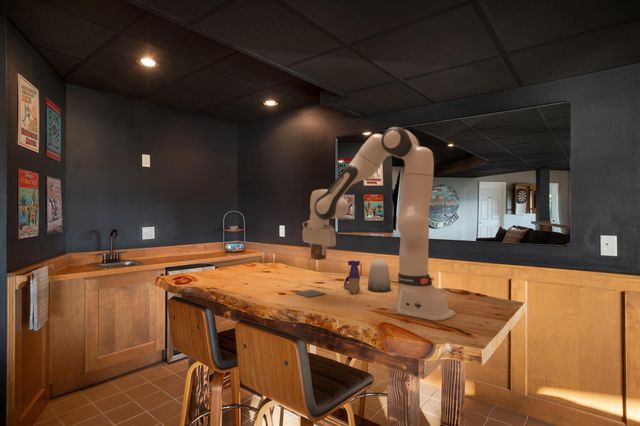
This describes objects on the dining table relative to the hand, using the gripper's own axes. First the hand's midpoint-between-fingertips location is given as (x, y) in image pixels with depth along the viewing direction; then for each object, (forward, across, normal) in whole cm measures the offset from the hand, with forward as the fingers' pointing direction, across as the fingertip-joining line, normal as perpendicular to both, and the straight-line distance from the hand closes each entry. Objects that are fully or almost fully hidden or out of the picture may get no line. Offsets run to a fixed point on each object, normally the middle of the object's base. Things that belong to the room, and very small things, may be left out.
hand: (318, 254), depth 167 cm
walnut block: (+2, 0, 0) cm, 2 cm away
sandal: (+19, -4, -19) cm, 27 cm away
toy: (+18, -12, -29) cm, 36 cm away
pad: (+19, +2, +2) cm, 19 cm away
